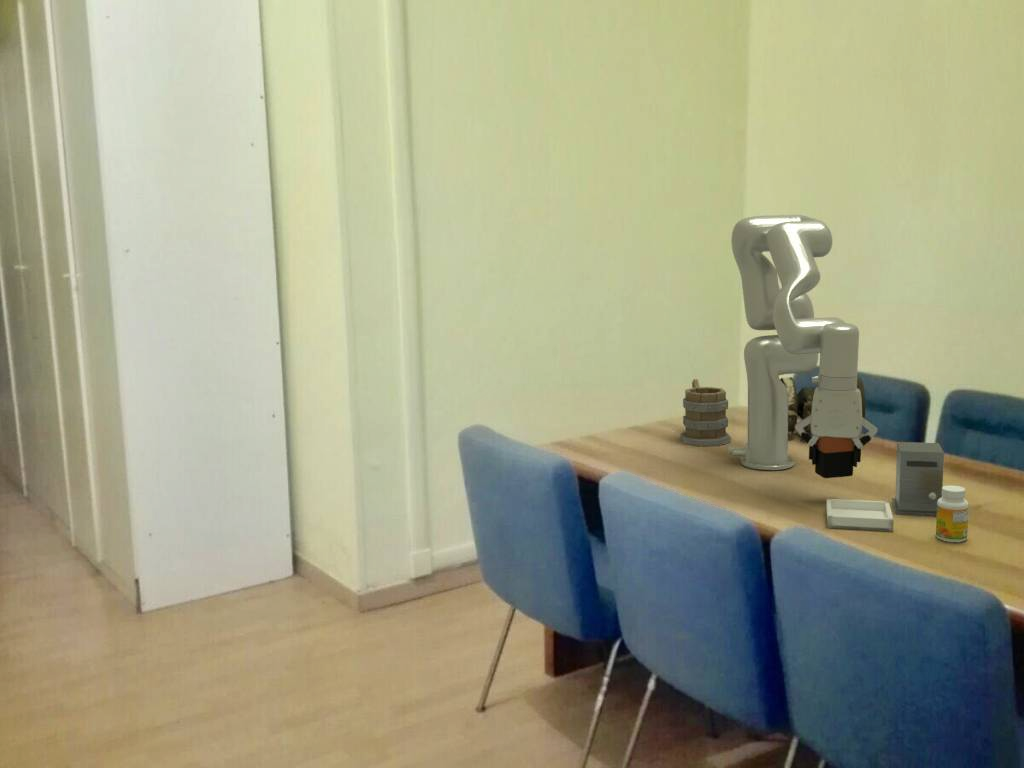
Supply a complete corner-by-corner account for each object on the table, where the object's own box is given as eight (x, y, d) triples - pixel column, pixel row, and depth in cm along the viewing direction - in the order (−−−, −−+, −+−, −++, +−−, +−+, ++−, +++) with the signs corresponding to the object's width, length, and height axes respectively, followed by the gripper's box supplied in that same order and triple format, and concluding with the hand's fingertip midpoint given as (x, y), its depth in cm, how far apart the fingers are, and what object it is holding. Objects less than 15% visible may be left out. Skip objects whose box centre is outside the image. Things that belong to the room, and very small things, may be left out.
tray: (827, 528, 192) (827, 516, 192) (826, 509, 203) (826, 498, 203) (893, 531, 189) (893, 519, 188) (888, 512, 200) (888, 501, 199)
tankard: (733, 445, 260) (734, 390, 257) (685, 447, 260) (685, 391, 257) (718, 429, 279) (718, 377, 277) (674, 430, 279) (674, 378, 277)
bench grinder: (773, 415, 279) (775, 357, 267) (854, 411, 275) (860, 352, 264) (783, 462, 262) (785, 403, 251) (869, 458, 259) (875, 398, 247)
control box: (895, 514, 199) (897, 451, 197) (891, 500, 208) (893, 441, 205) (944, 516, 196) (947, 453, 194) (938, 503, 205) (941, 442, 203)
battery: (853, 476, 207) (856, 430, 205) (823, 479, 206) (825, 433, 204) (843, 470, 211) (845, 425, 209) (813, 473, 210) (815, 427, 208)
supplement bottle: (930, 534, 186) (932, 485, 185) (957, 532, 187) (959, 483, 185) (944, 544, 181) (947, 493, 179) (972, 542, 181) (975, 491, 180)
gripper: (794, 385, 203) (791, 466, 207) (883, 388, 198) (879, 471, 202) (794, 377, 210) (791, 456, 214) (880, 380, 205) (876, 461, 209)
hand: (834, 463), depth 208 cm, fingers closed on battery, 7 cm apart
